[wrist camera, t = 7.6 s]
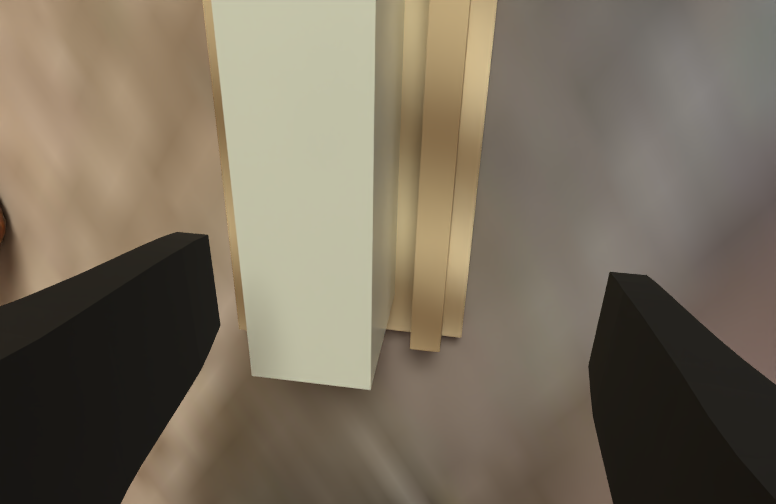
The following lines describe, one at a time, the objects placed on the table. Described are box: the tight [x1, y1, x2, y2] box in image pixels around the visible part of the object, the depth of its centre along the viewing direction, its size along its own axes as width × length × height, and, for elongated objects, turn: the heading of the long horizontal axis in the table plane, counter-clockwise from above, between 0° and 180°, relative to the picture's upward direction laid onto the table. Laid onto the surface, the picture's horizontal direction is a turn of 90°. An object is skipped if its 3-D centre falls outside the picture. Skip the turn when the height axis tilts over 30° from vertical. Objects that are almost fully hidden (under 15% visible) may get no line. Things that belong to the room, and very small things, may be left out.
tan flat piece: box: [202, 0, 497, 352], centre depth 19 cm, size 15×8×2 cm, turn 179°
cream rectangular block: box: [211, 0, 405, 390], centre depth 17 cm, size 12×4×5 cm, turn 179°
